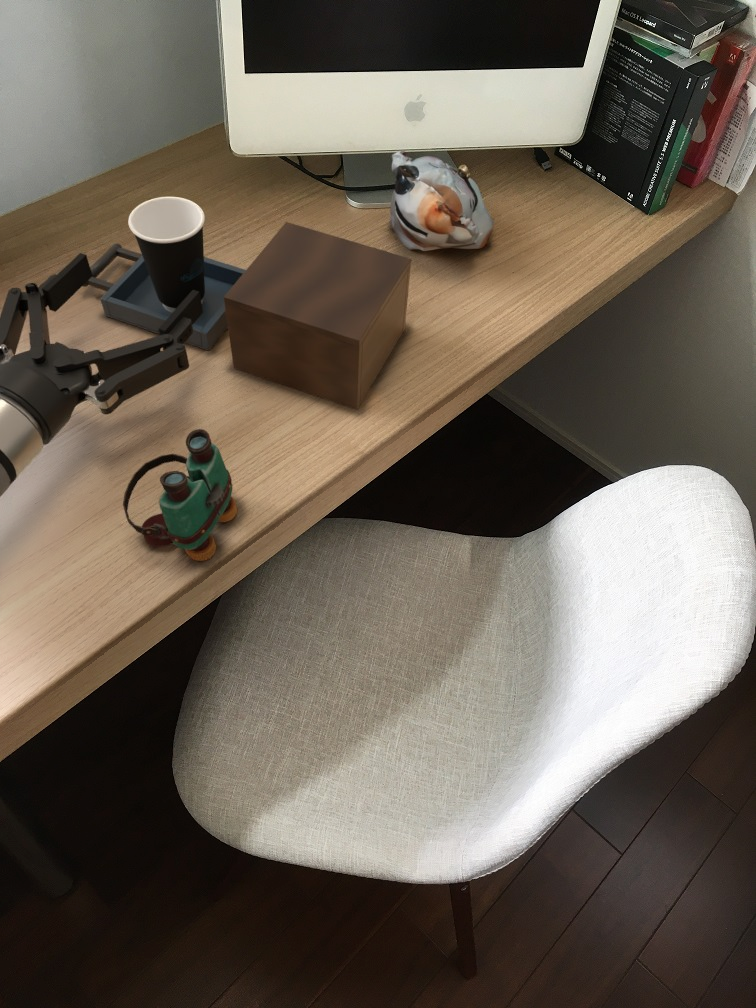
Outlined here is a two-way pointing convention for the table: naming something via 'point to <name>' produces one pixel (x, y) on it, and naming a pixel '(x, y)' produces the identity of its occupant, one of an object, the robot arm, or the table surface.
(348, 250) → the drawer unit
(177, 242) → the dixie cup
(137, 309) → the drawer
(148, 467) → the binoculars
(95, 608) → the table surface
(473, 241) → the lucky cat figurine
